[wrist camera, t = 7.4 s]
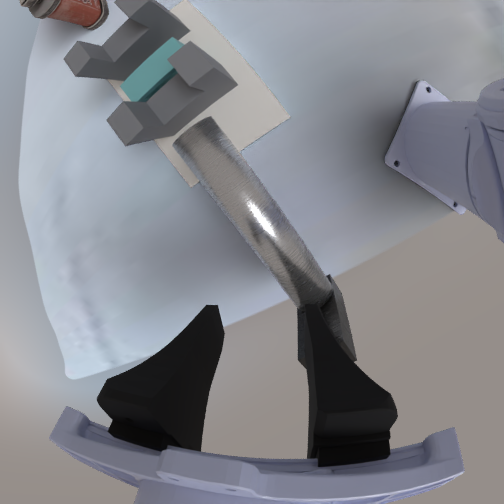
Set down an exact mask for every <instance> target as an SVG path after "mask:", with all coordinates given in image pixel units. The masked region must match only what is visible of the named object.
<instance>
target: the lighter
mask: <svg viewBox="0 0 504 504" xmlns="http://www.w3.org/2000/svg"><path fill="white" fill-rule="evenodd" d="M20 4H21V6H24V7H28V8H29V10H30V12H31V13H32V15H33V16H34V17H35V18H40V19H44V18H46V17H48V18H53V19H58V20H62V21H67V22H71V23H75V24H79V25H82V26H83V27H84V28H86V29H89V30H94V29H97V28H98V27H100V26H101V25H102V24H103V23H104V22H105V21H106V19H107V17H108V15H109V10H108V5H107V1H106V0H20Z"/></svg>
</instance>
